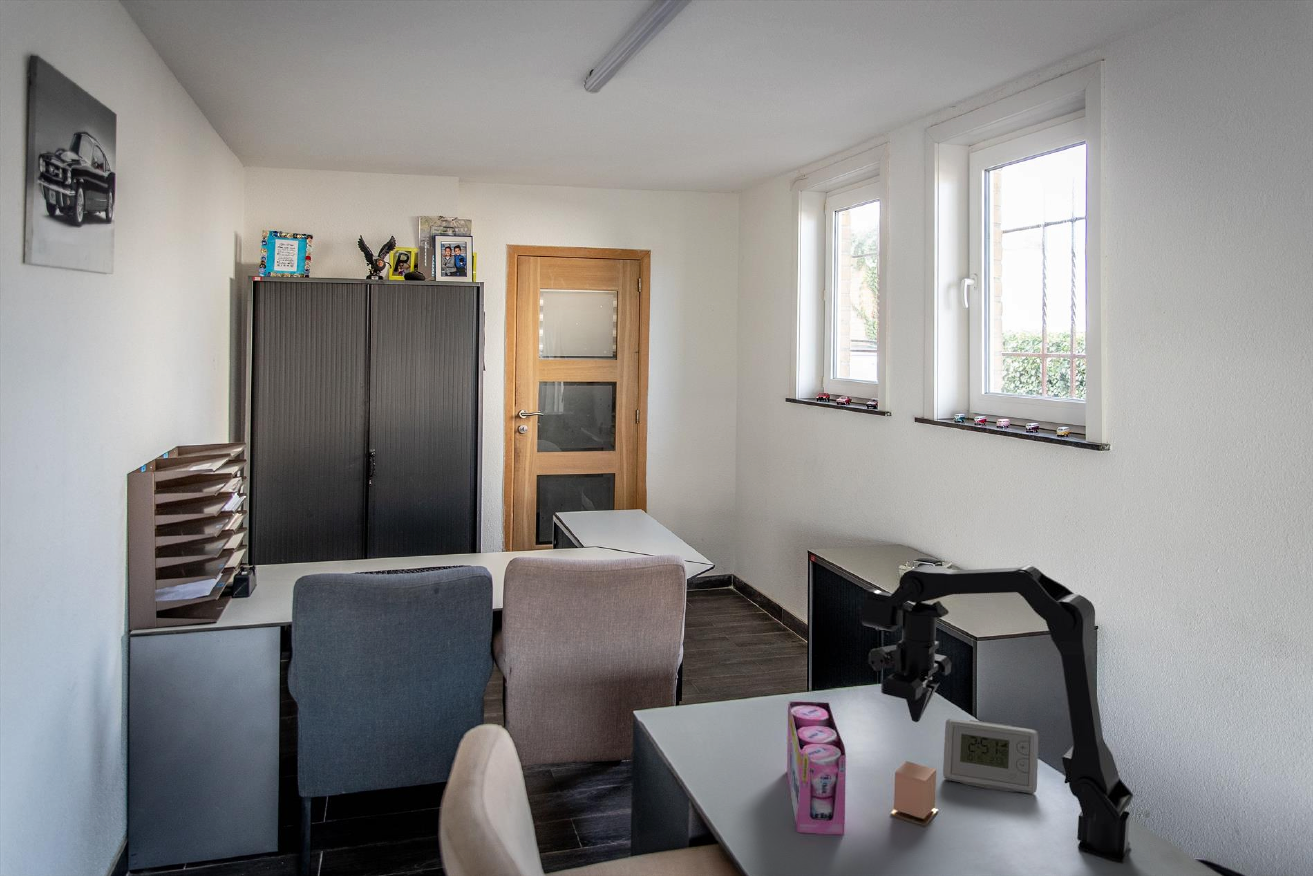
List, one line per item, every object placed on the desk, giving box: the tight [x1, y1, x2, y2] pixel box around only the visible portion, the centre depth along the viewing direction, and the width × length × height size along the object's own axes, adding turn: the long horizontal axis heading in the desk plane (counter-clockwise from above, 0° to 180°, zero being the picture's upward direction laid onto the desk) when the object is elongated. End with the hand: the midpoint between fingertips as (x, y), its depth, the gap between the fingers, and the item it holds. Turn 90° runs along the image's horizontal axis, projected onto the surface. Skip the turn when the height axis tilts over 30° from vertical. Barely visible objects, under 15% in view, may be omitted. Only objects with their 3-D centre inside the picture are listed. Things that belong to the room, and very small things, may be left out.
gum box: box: [786, 701, 847, 836], centre depth 159 cm, size 24×8×14 cm, turn 177°
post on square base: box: [889, 807, 939, 828], centre depth 155 cm, size 6×6×7 cm
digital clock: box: [942, 718, 1039, 794], centre depth 167 cm, size 16×9×11 cm, turn 59°
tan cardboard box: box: [893, 760, 937, 819], centre depth 155 cm, size 5×5×7 cm
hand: (915, 721), depth 165 cm, fingers closed
